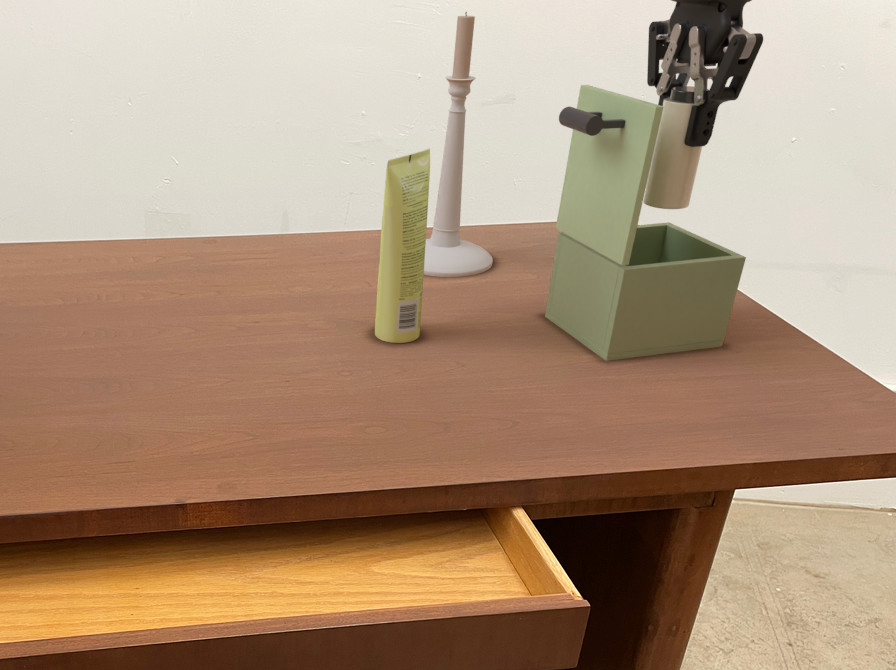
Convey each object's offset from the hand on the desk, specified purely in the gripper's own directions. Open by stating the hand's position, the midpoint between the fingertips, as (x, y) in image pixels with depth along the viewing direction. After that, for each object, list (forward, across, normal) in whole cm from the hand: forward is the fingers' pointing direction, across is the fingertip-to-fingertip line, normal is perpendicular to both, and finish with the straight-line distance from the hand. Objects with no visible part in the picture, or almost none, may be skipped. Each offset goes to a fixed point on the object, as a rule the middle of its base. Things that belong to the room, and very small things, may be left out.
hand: (679, 139), depth 92 cm
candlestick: (+21, +28, +11) cm, 36 cm away
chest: (+20, 0, +1) cm, 20 cm away
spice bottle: (+6, 0, 0) cm, 6 cm away
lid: (+3, 0, +7) cm, 8 cm away
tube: (+21, +6, +26) cm, 34 cm away
